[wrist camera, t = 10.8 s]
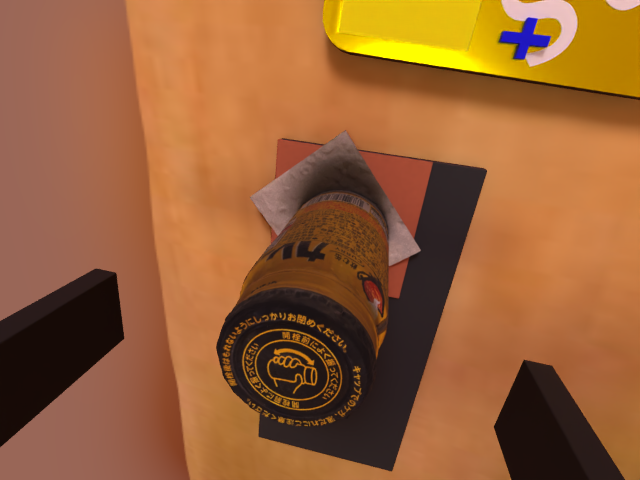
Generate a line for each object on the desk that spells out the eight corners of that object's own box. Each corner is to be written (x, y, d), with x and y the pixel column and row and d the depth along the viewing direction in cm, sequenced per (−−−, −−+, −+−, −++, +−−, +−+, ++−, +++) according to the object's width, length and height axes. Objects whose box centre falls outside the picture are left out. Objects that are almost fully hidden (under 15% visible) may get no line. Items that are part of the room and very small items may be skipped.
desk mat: (392, 464, 29) (392, 474, 29) (260, 431, 31) (257, 438, 30) (484, 168, 19) (488, 171, 18) (281, 138, 21) (277, 139, 20)
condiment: (324, 297, 23) (270, 469, 12) (250, 196, 22) (110, 293, 11) (420, 249, 21) (458, 411, 10) (346, 129, 19) (291, 167, 8)
